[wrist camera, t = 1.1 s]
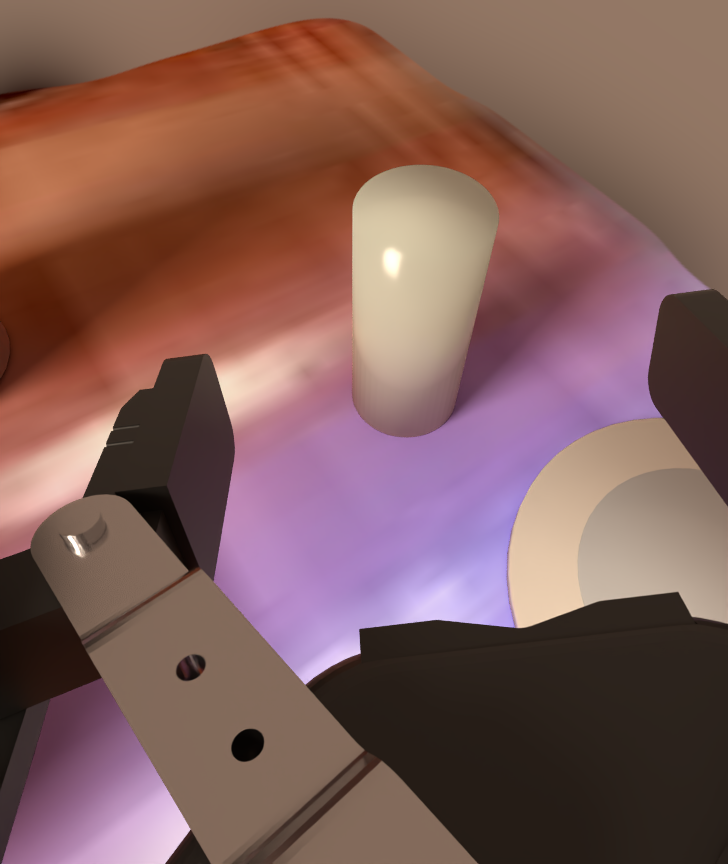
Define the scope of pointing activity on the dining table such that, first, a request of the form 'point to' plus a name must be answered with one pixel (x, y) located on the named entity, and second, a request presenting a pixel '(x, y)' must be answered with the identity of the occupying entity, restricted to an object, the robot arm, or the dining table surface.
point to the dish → (619, 527)
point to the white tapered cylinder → (416, 292)
